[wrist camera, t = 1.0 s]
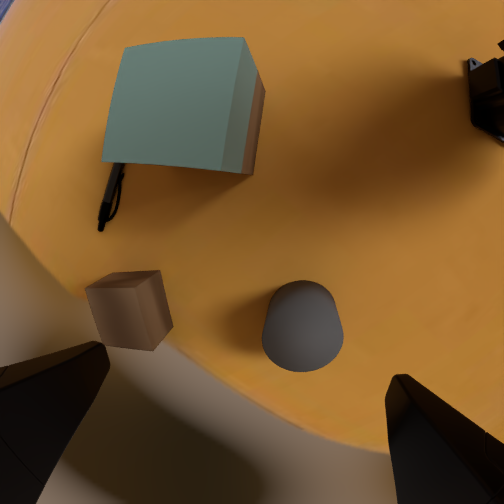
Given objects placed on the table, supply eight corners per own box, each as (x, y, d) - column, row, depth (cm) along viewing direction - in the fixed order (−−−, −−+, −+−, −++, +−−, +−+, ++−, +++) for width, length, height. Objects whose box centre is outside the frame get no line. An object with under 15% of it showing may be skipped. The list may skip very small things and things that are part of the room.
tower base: (265, 91, 16) (257, 70, 13) (253, 175, 18) (241, 173, 14) (184, 88, 17) (159, 71, 13) (171, 166, 19) (143, 164, 15)
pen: (113, 233, 21) (108, 237, 20) (97, 226, 21) (92, 230, 20) (173, 74, 17) (170, 70, 16) (154, 68, 17) (151, 65, 16)
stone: (343, 286, 19) (353, 311, 15) (326, 344, 20) (330, 376, 16) (274, 274, 19) (269, 297, 16) (263, 334, 21) (256, 364, 17)
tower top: (257, 70, 13) (244, 37, 9) (240, 173, 14) (220, 170, 10) (159, 70, 13) (125, 47, 9) (143, 163, 15) (101, 161, 11)
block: (160, 269, 21) (134, 287, 17) (174, 325, 22) (153, 351, 18) (113, 272, 22) (84, 288, 18) (127, 323, 23) (103, 345, 19)
